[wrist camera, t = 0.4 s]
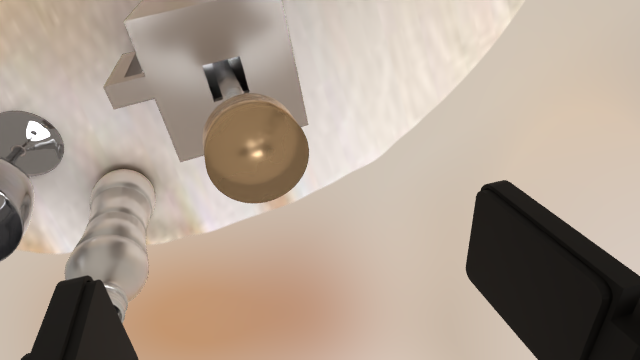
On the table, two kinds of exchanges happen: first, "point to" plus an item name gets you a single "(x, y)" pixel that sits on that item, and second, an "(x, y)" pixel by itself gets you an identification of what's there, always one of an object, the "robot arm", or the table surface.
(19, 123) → the wine glass
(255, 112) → the plunger
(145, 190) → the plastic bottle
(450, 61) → the table surface
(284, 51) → the press pot
